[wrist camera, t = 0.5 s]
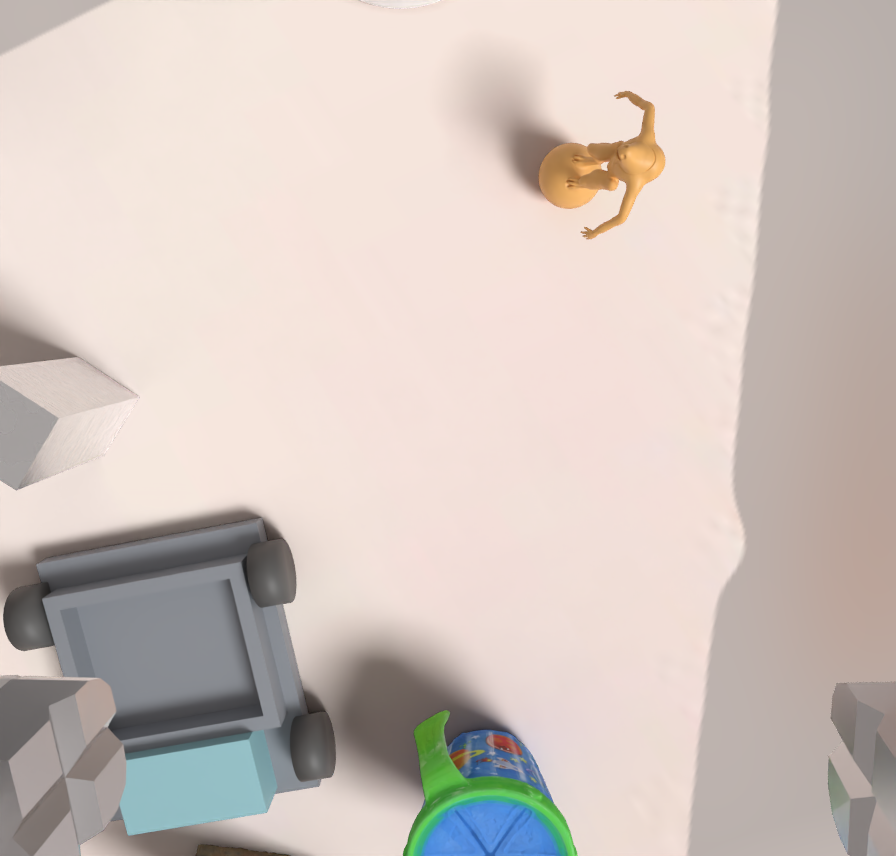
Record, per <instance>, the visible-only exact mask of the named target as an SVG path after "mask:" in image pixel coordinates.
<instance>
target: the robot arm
mask: <svg viewBox="0 0 896 856" xmlns="http://www.w3.org/2000/svg"><path fill="white" fill-rule="evenodd" d="M360 1H363V2H365V3H368V4H372V5H375V6H380V7H386V8H397V9H404V8H416V7H421V6H426V5H430V4H433V3H436V2H439V1H441V0H360ZM115 713H116V707H115V703H114V699H113V695H112V691H111V686H110V685H108V684H107V683H106V682H104V681H103V680H102V679H101V678H84V677H47V676H23V677H22V676H18V675H4V676H0V856H81V854H80V845H81V844H82V843H84V842H86V841H87V840H89V839H90V838H92V837H94V836H95V835H97V834H98V833H100V832H102V831H103V830H104V829H105V828H106V826H107V825H108V823H109V822H110V820H111V819H112V817H113V816H114V814H115V813H116V812H117V810H118V807H119V804H120V801H121V797H122V794H123V791H124V788H125V785H126V764H127V763H126V757H125V752H124V746H123V744H122V743H121V741H120V740H119V739H118V738H117V737H116V736H115V735H114V734H113V733H112V732H111V731H110V729H109V728H108V726H109V724H110V722H111V720H112V718H113V716H114V715H115ZM831 720H832V722H833V724H834V725H835V727H836V729H837V731H838V733H839V735H840V736H841V738H842V740H843V741H842V742H841V743H840V744H839V745H838V746H837V747H836V749H834V751H833V752H832V753H831V754H830V755H829V762H828V789H829V796H830V803H831V809H832V815H833V818H834V821H835V825H836V828H837V831H838V834H839V836H840V839H841V841H842V843H843V845H844V848H845V850H846V852H847V854H848V855H850V856H896V682H859V683H837V684H836V686H835V690H834V693H833V696H832V708H831Z"/></svg>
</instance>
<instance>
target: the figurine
mask: <svg viewBox="0 0 896 856" xmlns="http://www.w3.org/2000/svg"><path fill="white" fill-rule="evenodd" d="M614 96H619V97H617V98H616V99H619V98H623V97H628V99H629V100H630V101H631V102H632V103H633V104H634V105H636V106H638V107H640V108H641V109H642V110H645V112H644V116H643V122H642V129H641V133H640V134H639V136H637V137H635V138H633V139H630V140H628V141H626V142H623V141H619V142H615V143H612V144H610V143H599V144H594V143H591V144H589V145H588V146H587V147H586V146H584V145H581V144H578V143H566V144H562V145H559V146H557V147H555V148H554V149H552V150H551V151H550V152H549V153H548V154H547V155H546V156H545V158H544V159H543V161H542V163H541V166H540V169H539V185H540V189H541V191H542V193H543V195H544V196H545V197H546V199H547V200H548V201H549V202H551V203H552V204H554V205H555V206H558V207H560V208H565V209H572V208H577V207H580V206H583V205H584V204H586V203H588V202H589V201H590V200H591V199H592V198H593V197H594V196H595V194H596V193H597V191H598V190H600V189H605V190H609V191H613V190H615V189H616V188H617V187H618V183H619V180H621V181H624V182H625V183H626V192H625V195H624V198H623V201H622V204H621V207H620V211H619V214H618V215H617V216H615V217H613V218H612V219H611V220H609V221H607V222H604V223H603V224H601V225H600V226H598V227H597V228H596V229H595V230H593V231H592V230H590V229H589V228H587V227H584V228H585V229H586V230H587V231H588V232H582V231H581V233H583V234H586V235H583V237H588V238H586V239H593V238H594V237H596V236H597V235H599V234H601V233H604V232H606V231H607V230H609V229H611V228H613V227H615V226H618V225H620V224H622V223H623V222H625V220H626V219H627V217H628V215H629V213H630V211H631V209H632V206H633V204H634V202H635V199H636V197H637V195H638V194H639V192H640V191H641V189H642V187H643V186H644V185H645V184H646V183H648V182H650V181H652V180H654V179H656V178H657V177H658V176H659V175H660V174H661V172H662V171H663V169H664V166H665V156H664V153H663V151H662V149H661V148H660V147H659V146H658V145H657V144H656V142H655V133H654V118H655V108H654V105H653V104H652V103H651V102H648V101H645V100H643V99H642V98H641V97H639V96H638V95H636V94H634V93H632V92H630V91H624V92H619V93H618V94H616V95H614ZM609 161H610V162H609ZM603 162H609V163H608V165H607V168H608V171H604V170H602V169H601V165H600V164H602V163H603ZM618 179H619V180H618Z"/></svg>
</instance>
